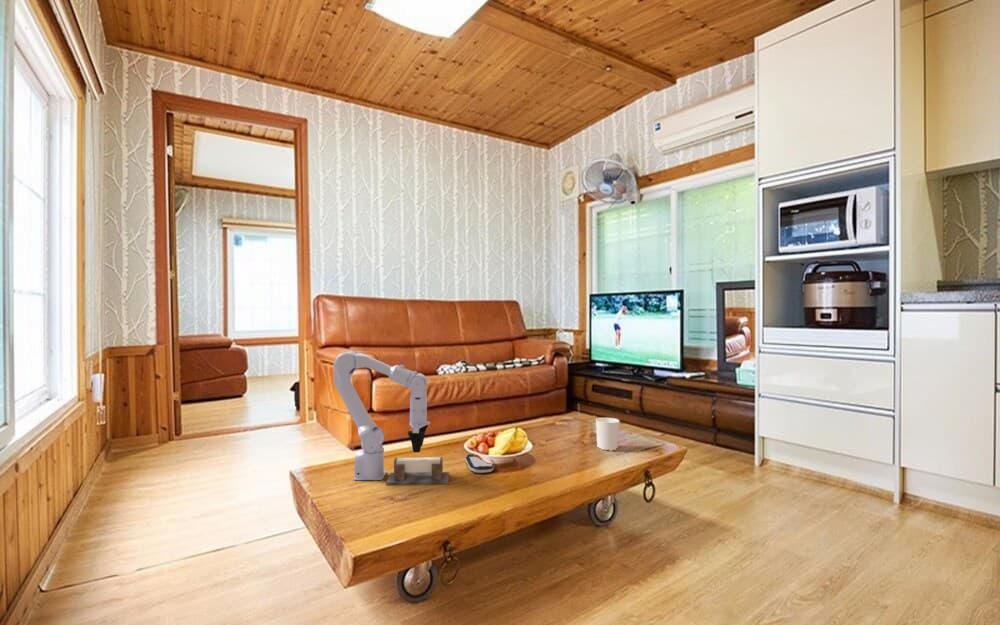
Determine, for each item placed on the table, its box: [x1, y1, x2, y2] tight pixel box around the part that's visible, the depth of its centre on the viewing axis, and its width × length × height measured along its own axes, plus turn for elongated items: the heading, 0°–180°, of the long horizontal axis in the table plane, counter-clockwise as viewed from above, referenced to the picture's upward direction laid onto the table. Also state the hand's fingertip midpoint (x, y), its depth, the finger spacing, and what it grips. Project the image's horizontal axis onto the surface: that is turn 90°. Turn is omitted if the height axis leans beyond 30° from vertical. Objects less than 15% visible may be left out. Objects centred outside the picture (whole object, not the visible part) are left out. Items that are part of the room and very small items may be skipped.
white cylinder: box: [595, 417, 621, 450], centre depth 198 cm, size 10×10×12 cm
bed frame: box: [385, 464, 450, 486], centre depth 159 cm, size 20×9×6 cm, turn 94°
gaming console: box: [464, 453, 496, 475], centre depth 175 cm, size 19×9×2 cm, turn 13°
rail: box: [393, 456, 444, 473], centre depth 159 cm, size 16×3×4 cm, turn 94°
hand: (418, 448), depth 163 cm, fingers open, 7 cm apart
